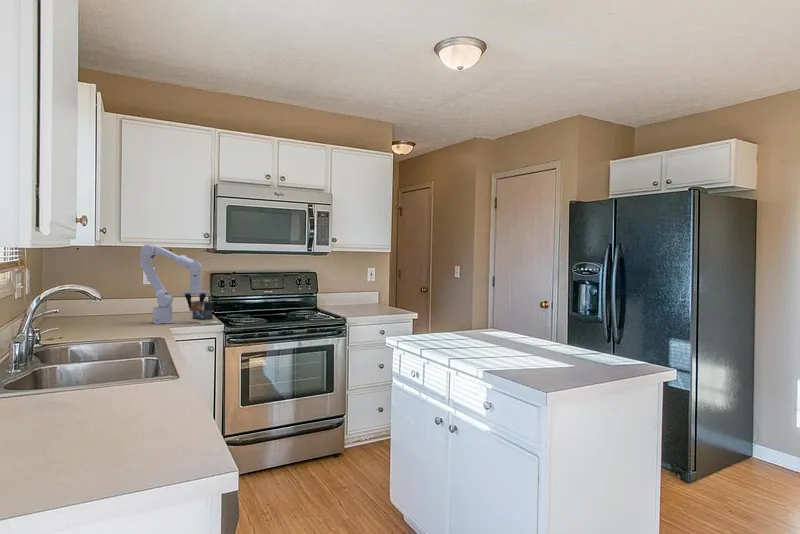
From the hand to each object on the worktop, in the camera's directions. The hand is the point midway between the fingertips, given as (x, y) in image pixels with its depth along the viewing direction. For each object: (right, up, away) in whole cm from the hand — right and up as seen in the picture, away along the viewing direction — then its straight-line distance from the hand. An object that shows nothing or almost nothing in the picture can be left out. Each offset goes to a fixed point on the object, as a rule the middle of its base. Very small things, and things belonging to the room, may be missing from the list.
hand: (195, 307), depth 272 cm
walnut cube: (0, -2, 0) cm, 2 cm away
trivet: (+9, -9, -2) cm, 13 cm away
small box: (-3, -8, +17) cm, 19 cm away
